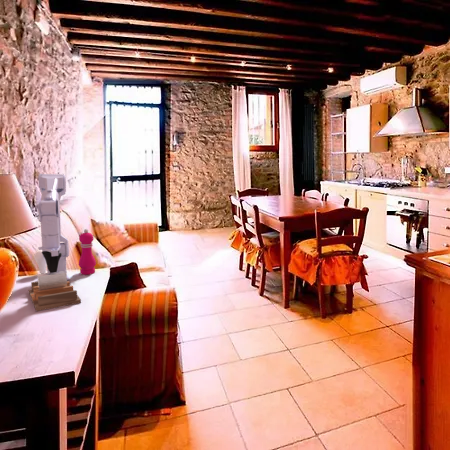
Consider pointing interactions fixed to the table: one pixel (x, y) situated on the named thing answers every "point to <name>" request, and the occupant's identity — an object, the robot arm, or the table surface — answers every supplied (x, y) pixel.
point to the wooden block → (52, 280)
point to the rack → (53, 297)
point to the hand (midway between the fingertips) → (52, 271)
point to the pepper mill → (86, 254)
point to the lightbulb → (40, 261)
